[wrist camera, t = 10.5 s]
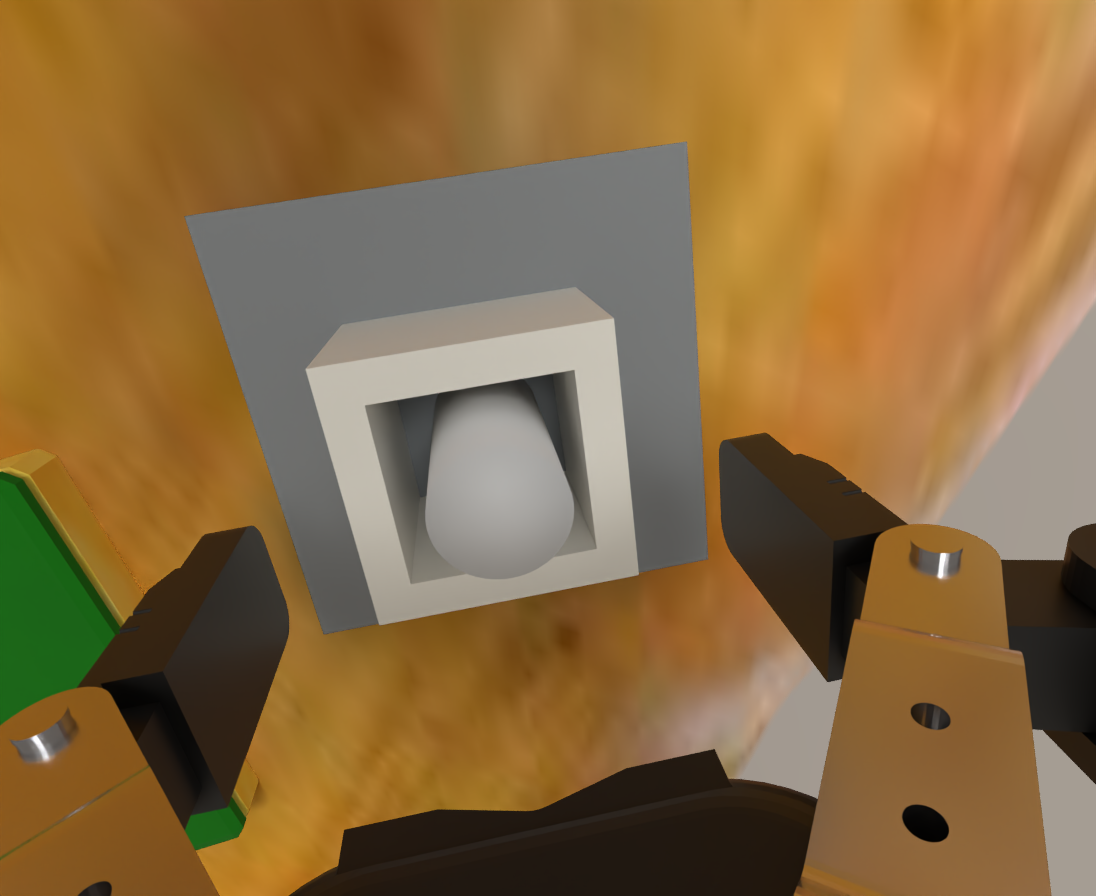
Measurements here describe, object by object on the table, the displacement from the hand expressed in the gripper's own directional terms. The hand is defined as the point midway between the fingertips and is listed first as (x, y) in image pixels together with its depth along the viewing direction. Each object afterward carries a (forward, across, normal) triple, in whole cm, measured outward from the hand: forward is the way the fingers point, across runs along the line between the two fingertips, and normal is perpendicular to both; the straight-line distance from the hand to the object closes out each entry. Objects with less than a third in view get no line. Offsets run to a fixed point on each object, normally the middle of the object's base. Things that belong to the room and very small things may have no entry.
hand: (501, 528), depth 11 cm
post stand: (+8, 0, 0) cm, 8 cm away
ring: (+7, 0, 0) cm, 7 cm away
